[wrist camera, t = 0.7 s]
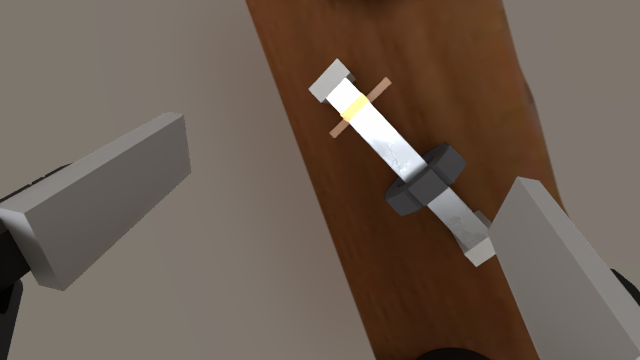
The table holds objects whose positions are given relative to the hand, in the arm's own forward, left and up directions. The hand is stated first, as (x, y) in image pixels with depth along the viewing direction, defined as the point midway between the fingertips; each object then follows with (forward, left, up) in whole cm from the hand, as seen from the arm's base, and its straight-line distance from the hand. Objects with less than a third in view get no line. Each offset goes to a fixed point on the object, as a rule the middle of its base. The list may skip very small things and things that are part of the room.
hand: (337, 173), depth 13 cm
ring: (-8, -1, -29) cm, 30 cm away
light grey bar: (-6, -1, -25) cm, 26 cm away
